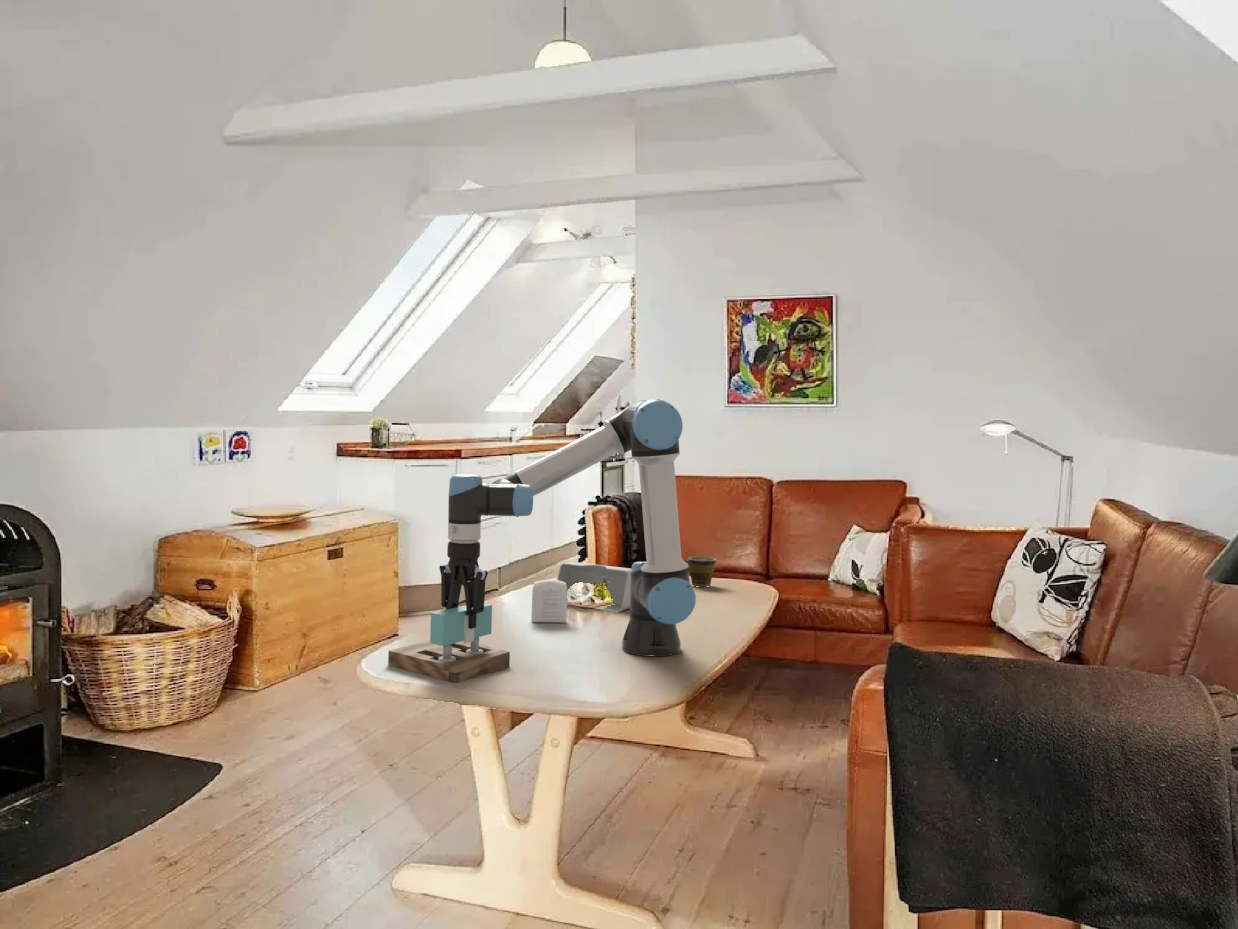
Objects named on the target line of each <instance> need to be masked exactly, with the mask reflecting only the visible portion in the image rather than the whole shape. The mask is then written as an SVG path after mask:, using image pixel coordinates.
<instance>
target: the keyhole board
mask: <svg viewBox="0 0 1238 929" xmlns="http://www.w3.org/2000/svg"><path fill="white" fill-rule="evenodd" d="M470 645H471V642H468V643H464V641H461V642H457V643H453V644H452V656H454V657H456V661H452V662H449V663H446V662H442V661H438V658H439V657H441V656H443V646H440V645H436V644H432V643H430V639H429V640H425V641H422V642H418V643H414V644H410V645H406V646H400V647H398V648H397V647H396V648H393V649H390V650H388V655H387V656H388V657H387V660H388V661H387V662H388V663H387V665H388V666H389V665H390V667H393V668H398V669H401V670H404V669H405V671H408V670H409V671H408V672H413V673H417V674H420V675H424V676H427V677H430V678H435V679H439V680H442V681H445V682H449V683H450V682H451V683H454V684H457V683H459V682H463V681H466V680H469V679H473V678H476V677H479V676H482V675H486V674H488V673H492V672H495V671H498V670H501V669H506V668H508V667H510V664H511V663H510V658H511V656H510V655H511V654H510V651H509V650H503V649H499V648H496V647H491V646H485V645H482V644H479V649H482V650H483V653H481V654H477V655H473V654H469V653H466V650H468V649H470Z"/></svg>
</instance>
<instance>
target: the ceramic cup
mask: <svg viewBox="0 0 1238 929" xmlns="http://www.w3.org/2000/svg"><path fill="white" fill-rule="evenodd" d="M683 560H684V561H685V562H686V563H687V564H688V568H689V577H690V579H691V585H694V586H699V587H707V586H710V587H711V584H712V578H713V575H714V574H713V573H714V571H715V566H716V563H717V559H716V558H714V557H708V556H690V557H688V560H687V559H683ZM694 586H693V587H694ZM699 587H698V588H699ZM707 588H708V587H707Z"/></svg>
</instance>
